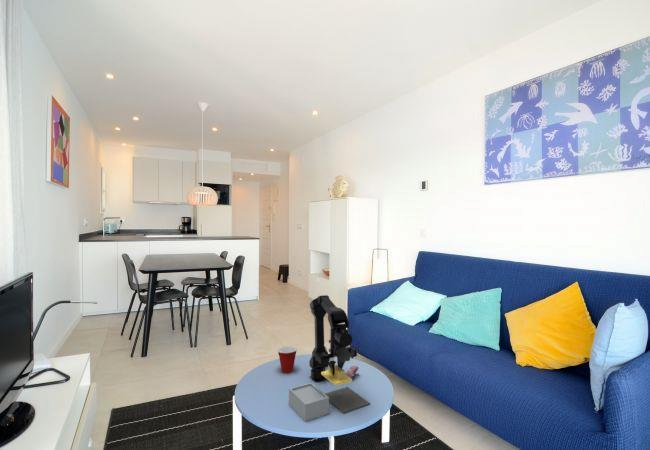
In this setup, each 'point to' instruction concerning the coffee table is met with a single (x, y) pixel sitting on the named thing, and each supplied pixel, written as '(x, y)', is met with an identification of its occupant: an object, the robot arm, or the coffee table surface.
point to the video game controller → (352, 371)
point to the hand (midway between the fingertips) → (336, 374)
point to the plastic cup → (287, 358)
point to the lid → (336, 376)
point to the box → (308, 401)
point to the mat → (346, 400)
